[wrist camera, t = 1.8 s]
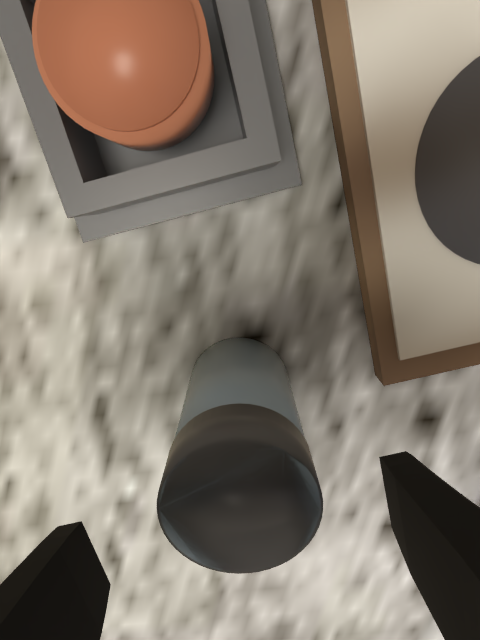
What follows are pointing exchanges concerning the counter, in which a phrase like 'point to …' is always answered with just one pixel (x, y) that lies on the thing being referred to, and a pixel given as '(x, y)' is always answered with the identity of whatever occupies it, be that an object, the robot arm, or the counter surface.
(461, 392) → the counter surface
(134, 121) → the button
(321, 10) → the cream rectangular board
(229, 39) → the button housing
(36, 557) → the robot arm
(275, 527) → the grey canister
